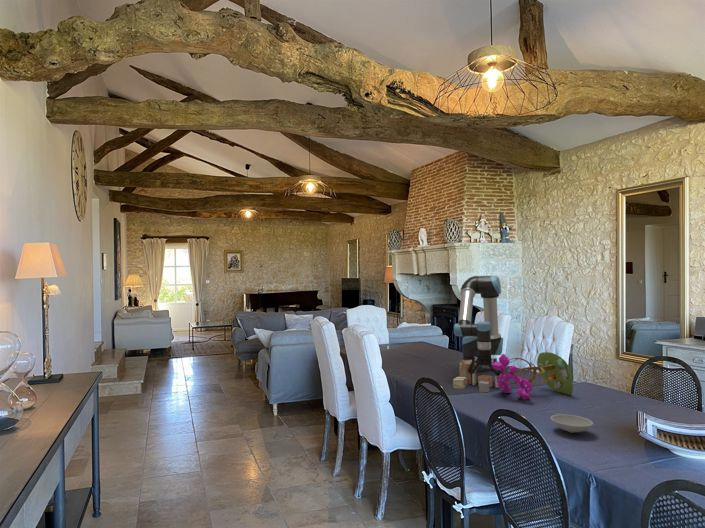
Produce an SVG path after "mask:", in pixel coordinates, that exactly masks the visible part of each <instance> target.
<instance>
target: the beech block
mask: <svg viewBox="0 0 705 528" xmlns="http://www.w3.org/2000/svg"><path fill="white" fill-rule="evenodd" d="M467 386H468V384H467V377H460V376H456V377H454V378H453V379H452V387H453V389H457V388H458V389H457V390H463V389H464V388H466V387H467Z"/></svg>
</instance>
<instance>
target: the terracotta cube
mask: <svg viewBox="0 0 705 528" xmlns="http://www.w3.org/2000/svg"><path fill="white" fill-rule="evenodd" d="M480 381H483V382H489V388H492V387H493V375H487V374H481V375H479V376H478V375H477V387H478V388H479V382H480Z"/></svg>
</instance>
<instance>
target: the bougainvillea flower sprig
mask: <svg viewBox="0 0 705 528" xmlns="http://www.w3.org/2000/svg"><path fill="white" fill-rule="evenodd" d="M511 360H512V361H511ZM517 360H520V361H524V362H525V364H523V365H521V366H518V367H516V365H515V364H513V365H510V363H513V362H515V361H517ZM491 363H492V367H493V368H494V369H496V370H497V371H498V370H500V371H502V372H503V373H501V374H500V375H499V376H497V379H498V380H497V381H498V389H499V390H500V392H503V393H504V394H506V393H510V394H511V393H513V389H512V388H511V386H510V385H516V386H518V387H519V388H518V389H517V391H516V394H517V397H519V398H521V399H522V400H529V399H530V397H531V392H532V391H533V385H534V386H536V384H535V383H534V380H535V379H536V377H538V378H539V384H537V386H539V385H541V383H542V381H541V379H542V380H543V382H544V383H545V384H546V385H547V386H548V388H549V389H551V390H552V391H553V390H554V391H553V392H556V391H557V393H560V392H561V393H560V394H563V393H564V394H563V395H567V394H568V395H567V396H572V395H573V391H574V383H573V382H574V381H573V375H572V370H571V367H570V365H569V364H568V363H567V361H566V360H565V359H564V358H563V357H562V356H559V355H558V354H556V353H554V352H548V351H547V352H543V351H542V352H540V353H539V355H538V356H537V360H536V365H537V366H536V365H535V364H534V363H531V362H529V361H528V360H526V359H524V358H520V357H514V358H509V356H507V355H506V354H505V353H502V354H501V355H499V358H498V361H497V362H491ZM526 365H528V366H527V367H523V366H526ZM521 367H522V368H521ZM507 368H508V369H507ZM518 368H520V369H518ZM506 371H508V373H507V372H506ZM522 371H524V372H522ZM537 371H538V373H537ZM517 372H518V373H517ZM528 372H529V373H530V375H531V376H527V377H525V378H524V377H523V378H522V377H521V375H524V374H527V373H528ZM529 378H531V379H529ZM528 379H529V380H528ZM512 380H514V382H512ZM509 381H511V382H509ZM508 382H509V383H508Z"/></svg>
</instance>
